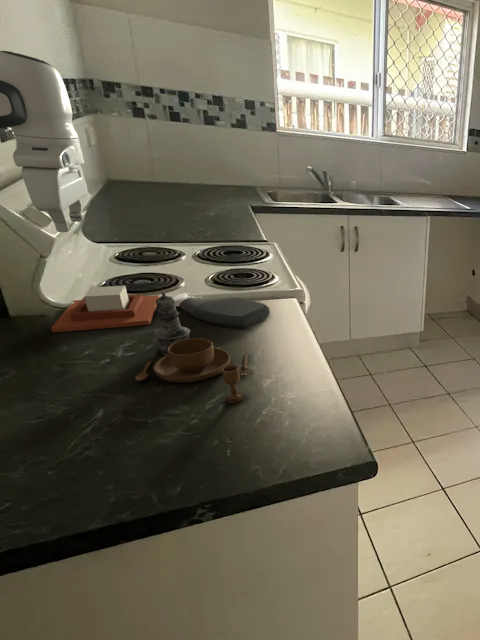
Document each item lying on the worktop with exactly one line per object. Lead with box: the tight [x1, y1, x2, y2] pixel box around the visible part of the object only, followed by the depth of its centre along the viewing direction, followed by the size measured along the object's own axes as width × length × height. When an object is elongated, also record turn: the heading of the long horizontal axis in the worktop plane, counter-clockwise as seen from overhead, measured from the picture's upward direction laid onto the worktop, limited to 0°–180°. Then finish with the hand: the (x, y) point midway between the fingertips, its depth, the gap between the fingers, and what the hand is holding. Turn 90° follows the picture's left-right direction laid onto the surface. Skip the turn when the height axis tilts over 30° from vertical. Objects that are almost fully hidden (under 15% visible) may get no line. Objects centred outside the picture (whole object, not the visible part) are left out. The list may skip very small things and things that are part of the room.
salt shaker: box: [153, 291, 191, 356], centre depth 91 cm, size 6×6×12 cm
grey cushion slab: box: [171, 291, 271, 329], centre depth 110 cm, size 3×11×24 cm
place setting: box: [134, 337, 250, 404], centre depth 83 cm, size 18×20×6 cm
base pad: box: [50, 293, 160, 333], centre depth 104 cm, size 16×16×2 cm
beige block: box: [83, 285, 130, 312], centre depth 104 cm, size 6×6×4 cm
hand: (71, 226), depth 95 cm, fingers open, 8 cm apart
